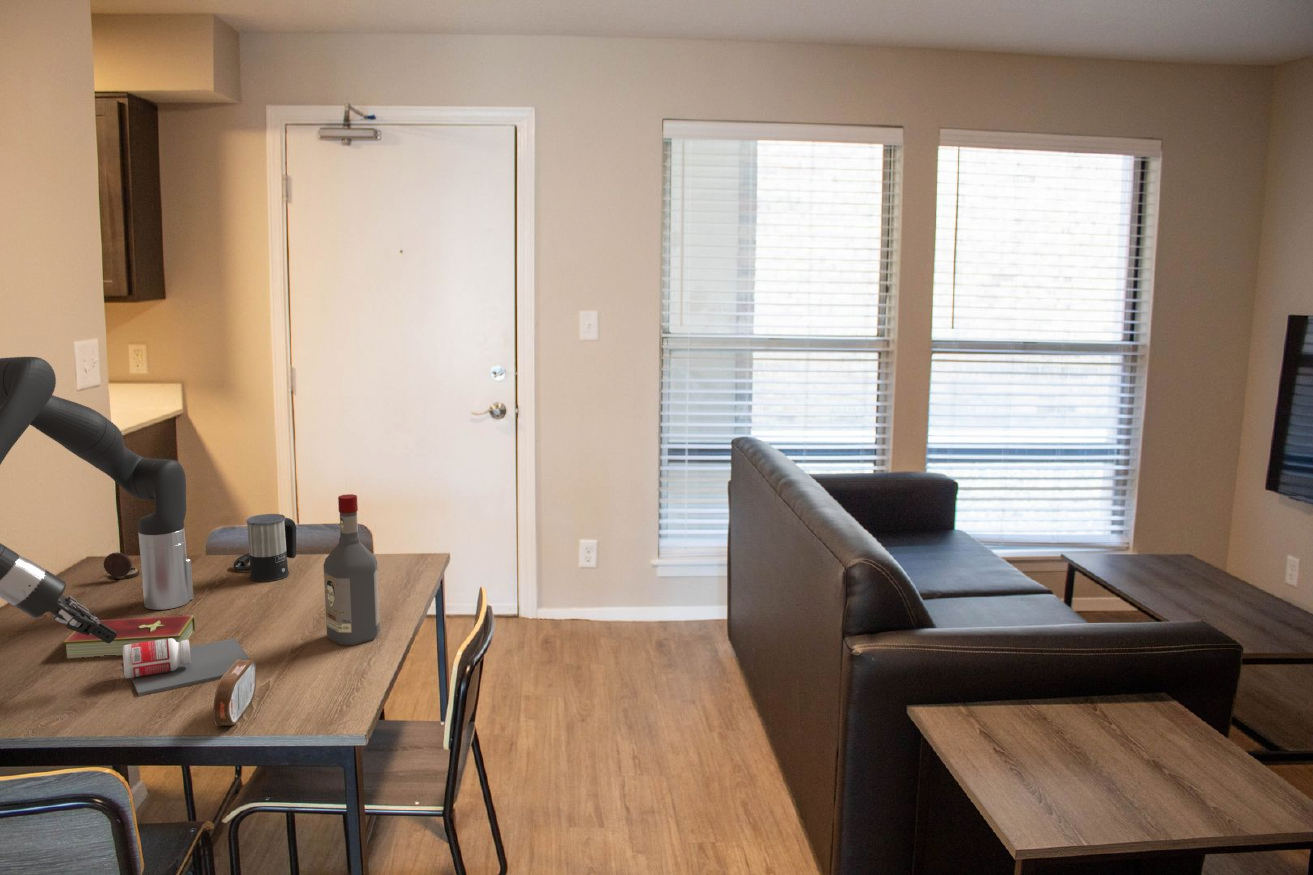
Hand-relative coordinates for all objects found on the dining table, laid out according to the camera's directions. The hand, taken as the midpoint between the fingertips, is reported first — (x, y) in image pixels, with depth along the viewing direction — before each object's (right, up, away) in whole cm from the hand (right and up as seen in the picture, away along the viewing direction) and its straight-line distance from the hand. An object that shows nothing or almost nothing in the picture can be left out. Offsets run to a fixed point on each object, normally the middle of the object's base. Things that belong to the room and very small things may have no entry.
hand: (113, 638), depth 180 cm
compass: (-32, +2, +60) cm, 68 cm away
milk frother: (+1, +3, +65) cm, 65 cm away
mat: (+10, -7, +8) cm, 15 cm away
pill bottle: (+1, -5, +1) cm, 5 cm away
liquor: (+37, -5, +24) cm, 44 cm away
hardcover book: (-7, -6, +19) cm, 21 cm away
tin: (+27, -11, -11) cm, 31 cm away
